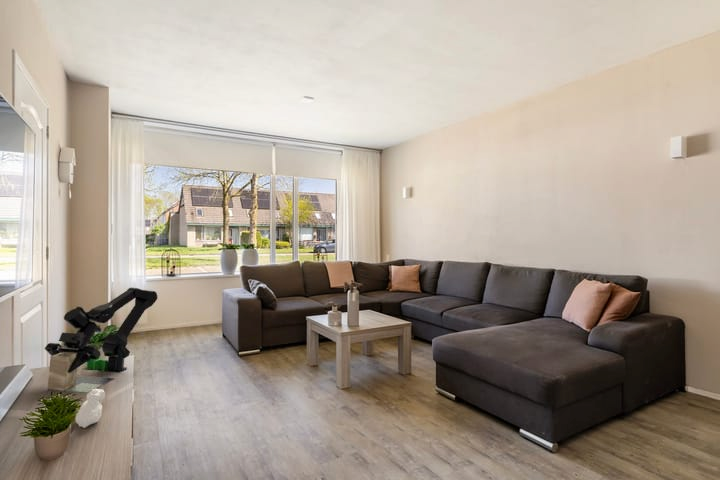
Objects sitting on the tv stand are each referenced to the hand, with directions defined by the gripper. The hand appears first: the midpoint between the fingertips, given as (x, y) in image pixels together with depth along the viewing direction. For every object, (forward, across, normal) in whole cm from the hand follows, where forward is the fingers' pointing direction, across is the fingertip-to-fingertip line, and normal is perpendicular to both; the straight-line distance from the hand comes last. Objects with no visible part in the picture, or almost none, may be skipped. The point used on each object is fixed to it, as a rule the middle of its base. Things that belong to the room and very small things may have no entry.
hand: (59, 371), depth 147 cm
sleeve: (+3, 0, +5) cm, 6 cm away
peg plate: (+1, +4, +10) cm, 11 cm away
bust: (+20, +26, -9) cm, 34 cm away
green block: (-14, -5, +25) cm, 29 cm away
